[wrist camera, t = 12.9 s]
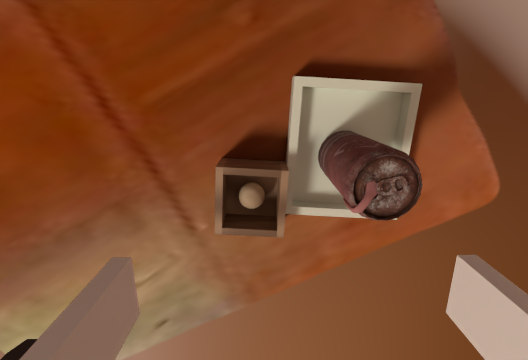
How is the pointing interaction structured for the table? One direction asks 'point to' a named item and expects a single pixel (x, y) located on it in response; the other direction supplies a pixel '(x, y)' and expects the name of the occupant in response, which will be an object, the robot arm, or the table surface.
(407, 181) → the can
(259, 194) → the cork ball
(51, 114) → the table surface
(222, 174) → the square wooden box
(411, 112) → the tray
